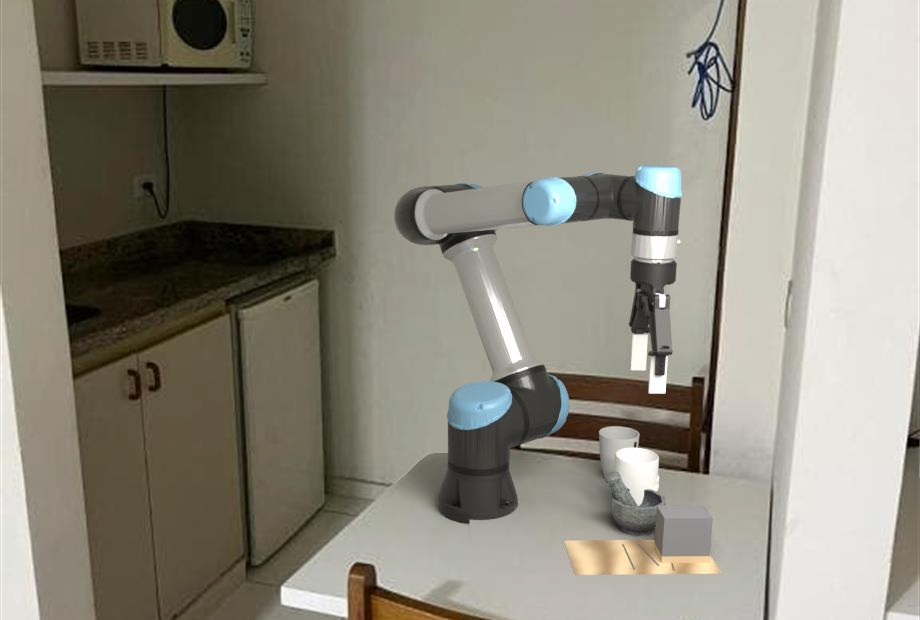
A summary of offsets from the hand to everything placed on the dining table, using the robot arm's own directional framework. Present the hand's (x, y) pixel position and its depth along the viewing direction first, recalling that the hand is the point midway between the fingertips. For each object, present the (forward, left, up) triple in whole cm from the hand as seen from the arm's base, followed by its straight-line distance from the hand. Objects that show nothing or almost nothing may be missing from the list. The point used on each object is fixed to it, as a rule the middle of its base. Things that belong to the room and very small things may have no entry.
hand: (646, 381), depth 159 cm
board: (-2, -10, -29) cm, 30 cm away
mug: (+1, +10, -29) cm, 31 cm away
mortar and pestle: (-1, 0, -29) cm, 29 cm away
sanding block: (+5, -10, -28) cm, 30 cm away
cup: (+2, +25, -29) cm, 39 cm away
